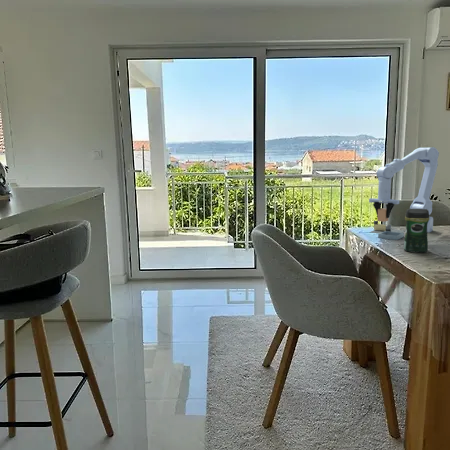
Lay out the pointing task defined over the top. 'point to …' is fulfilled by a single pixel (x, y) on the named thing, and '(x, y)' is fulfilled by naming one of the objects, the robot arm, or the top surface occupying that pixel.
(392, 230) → the plate
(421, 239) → the coffee jar
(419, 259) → the top surface
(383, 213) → the block
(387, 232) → the tray
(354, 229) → the top surface
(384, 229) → the crank
